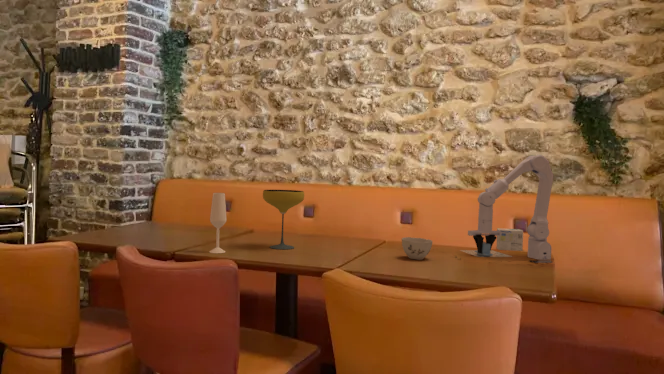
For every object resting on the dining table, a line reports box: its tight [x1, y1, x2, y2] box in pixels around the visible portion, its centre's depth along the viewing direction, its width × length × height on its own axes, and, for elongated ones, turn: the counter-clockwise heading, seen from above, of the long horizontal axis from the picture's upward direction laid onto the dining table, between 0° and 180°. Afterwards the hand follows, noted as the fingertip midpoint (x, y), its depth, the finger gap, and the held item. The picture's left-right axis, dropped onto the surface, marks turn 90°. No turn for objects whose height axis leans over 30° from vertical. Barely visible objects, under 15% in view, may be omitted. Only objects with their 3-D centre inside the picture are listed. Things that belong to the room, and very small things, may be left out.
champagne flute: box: [209, 192, 228, 254], centre depth 219 cm, size 7×7×24 cm
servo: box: [475, 240, 493, 256], centre depth 226 cm, size 9×3×6 cm, turn 13°
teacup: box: [401, 236, 433, 261], centre depth 221 cm, size 15×12×8 cm
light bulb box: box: [496, 227, 524, 252], centre depth 245 cm, size 11×7×11 cm, turn 84°
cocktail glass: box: [262, 189, 305, 250], centre depth 236 cm, size 18×18×25 cm
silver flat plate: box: [459, 249, 514, 258], centre depth 230 cm, size 17×16×2 cm
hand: (483, 252), depth 226 cm, fingers closed on servo, 3 cm apart
